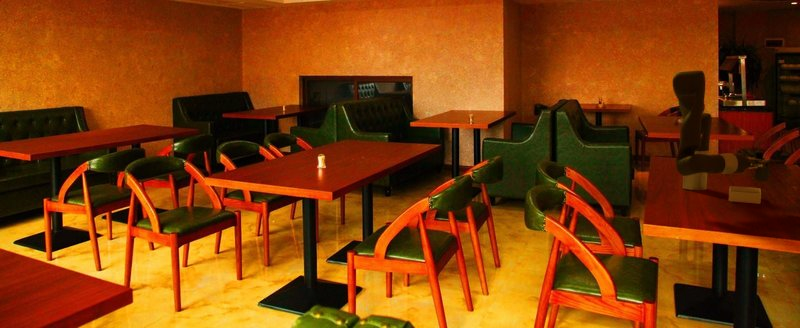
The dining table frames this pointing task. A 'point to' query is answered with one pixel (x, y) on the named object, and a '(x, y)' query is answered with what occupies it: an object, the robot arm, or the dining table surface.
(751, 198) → the riser
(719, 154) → the robot arm
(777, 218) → the dining table surface
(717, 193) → the dining table surface
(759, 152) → the vaping device
